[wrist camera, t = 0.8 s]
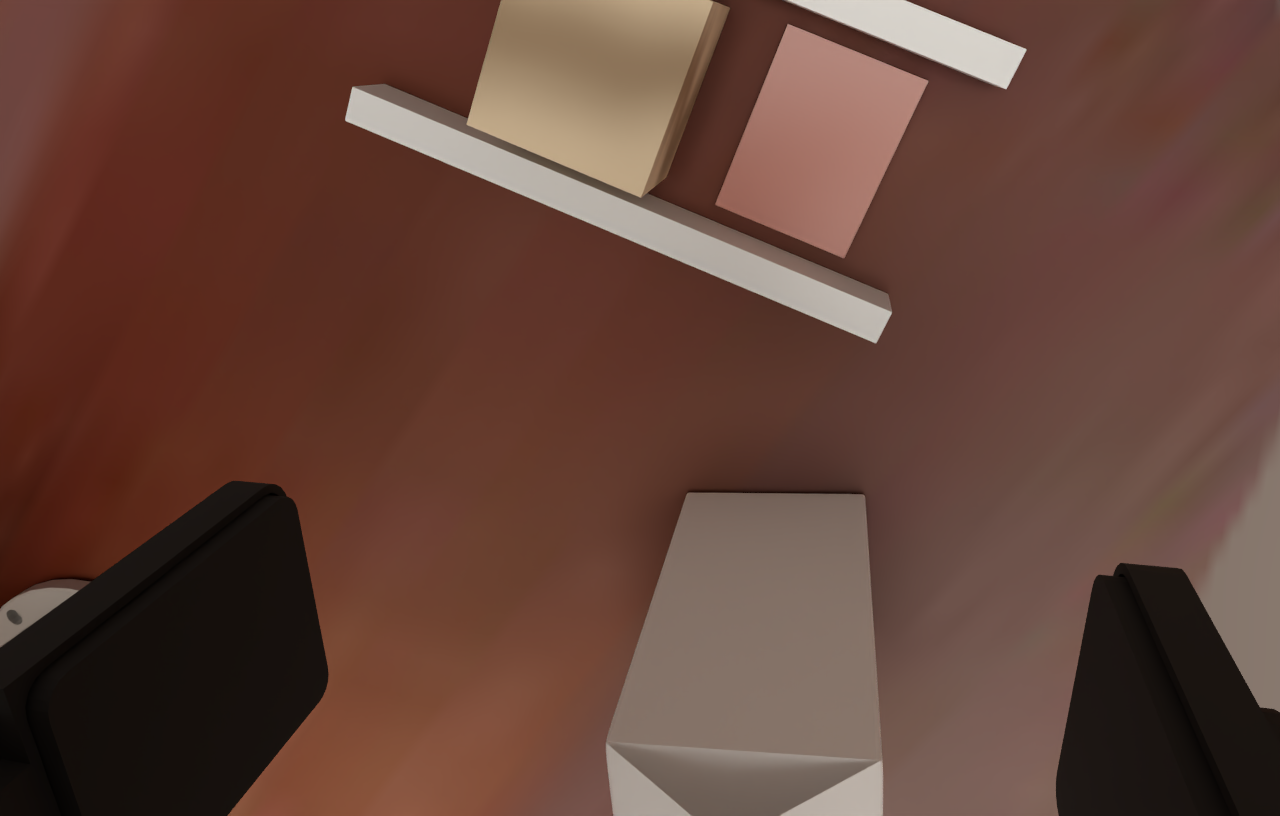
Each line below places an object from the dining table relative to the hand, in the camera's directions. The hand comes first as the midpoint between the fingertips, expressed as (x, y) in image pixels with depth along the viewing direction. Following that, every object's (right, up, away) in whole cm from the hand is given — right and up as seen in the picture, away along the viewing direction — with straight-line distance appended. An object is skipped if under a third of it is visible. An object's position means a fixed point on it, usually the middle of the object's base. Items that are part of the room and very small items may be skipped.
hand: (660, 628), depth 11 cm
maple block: (-1, +15, +22) cm, 26 cm away
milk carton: (+6, -4, +28) cm, 29 cm away
